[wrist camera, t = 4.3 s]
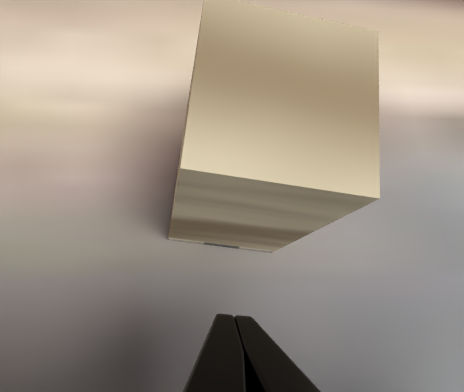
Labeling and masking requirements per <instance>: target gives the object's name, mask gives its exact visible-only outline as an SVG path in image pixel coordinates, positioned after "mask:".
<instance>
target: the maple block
mask: <svg viewBox="0 0 464 392" xmlns="http://www.w3.org/2000/svg"><path fill="white" fill-rule="evenodd" d="M378 199H380V181H379V65H378V31H375V30H370V29H366V28H361V27H356V26H352V25H347V24H343V23H338V22H333V21H329V20H324V19H319V18H315V17H310V16H306V15H301V14H296V13H292V12H287V11H282V10H278V9H273V8H269V7H264V6H259V5H255V4H250V3H245V2H241V1H236V0H204V3H203V9H202V16H201V22H200V29H199V35H198V41H197V48H196V54H195V61H194V67H193V73H192V80H191V86H190V93H189V99H188V105H187V112H186V118H185V125H184V131H183V137H182V144H181V151H180V158H179V165H178V172H177V179H176V186H175V193H174V200H173V207H172V214H171V221H170V228H169V235H168V240H175V241H183V242H191V243H199V244H207V245H215V246H223V247H231V248H239V249H246V250H254V251H262V252H270V253H272V252H274V251H276V250H278V249H280V248H282V247H284V246H286V245H288V244H290V243H292V242H294V241H296V240H298V239H300V238H302V237H304V236H306V235H308V234H310V233H312V232H314V231H316V230H318V229H320V228H322V227H324V226H326V225H328V224H330V223H332V222H334V221H336V220H338V219H340V218H342V217H344V216H346V215H348V214H350V213H352V212H354V211H356V210H358V209H360V208H362V207H364V206H366V205H368V204H370V203H372V202H374V201H376V200H378Z"/></svg>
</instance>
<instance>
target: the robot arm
mask: <svg viewBox="0 0 464 392" xmlns="http://www.w3.org/2000/svg"><path fill="white" fill-rule="evenodd" d="M183 392H320V390H319V389H318V388H317V387H316V386H315V385H314V384H313V383H312V382H311V381H310V380H309V379H308V377H307V376H306V375H305V374H304V373H303V372H302V371H301V370H300V369H299V368H298V367H297V366H296V364H295V363H294V362H293V361H292V360H291V359H290V358H289V357H288V356H287V355H286V354H285V353H284V351H283V350H282V349H281V348H280V347H279V346H278V345H277V344H276V343H275V342H274V341H273V340H272V338H271V337H270V336H269V335H268V334H267V333H266V332H265V331H264V330H263V329H262V328H261V327H260V325H259V324H258V323H257V322H256V321H255V320H254V319H253V318H252V317H249V316H238V315H237V316H235V317H234V316H232V315H227V314H217V315H216V317H215V319H214V321H213V323H212V326H211V328H210V330H209V333H208V335H207V337H206V340H205V342H204V344H203V347H202V349H201V351H200V353H199V356H198V358H197V360H196V363H195V365H194V367H193V370H192V372H191V374H190V377H189V379H188V381H187V383H186V386H185V388H184V390H183Z"/></svg>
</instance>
